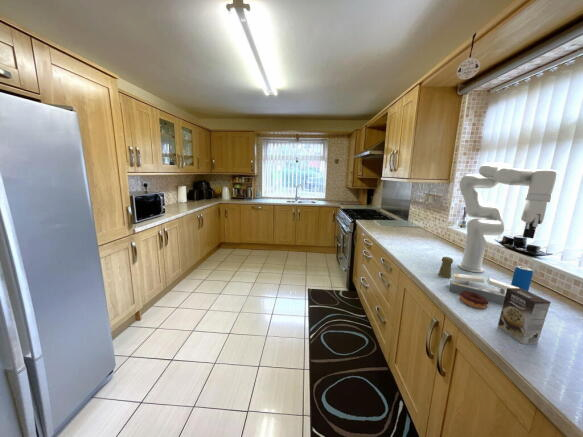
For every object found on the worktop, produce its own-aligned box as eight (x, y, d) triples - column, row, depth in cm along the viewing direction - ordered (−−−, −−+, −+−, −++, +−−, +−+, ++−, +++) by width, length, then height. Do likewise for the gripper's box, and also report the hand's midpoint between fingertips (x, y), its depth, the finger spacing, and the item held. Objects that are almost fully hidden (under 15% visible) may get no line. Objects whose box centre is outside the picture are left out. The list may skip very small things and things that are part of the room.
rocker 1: (454, 277, 115) (454, 273, 115) (482, 279, 109) (482, 276, 109) (454, 280, 112) (454, 276, 112) (483, 283, 106) (483, 279, 106)
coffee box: (496, 326, 86) (505, 287, 82) (511, 326, 86) (521, 287, 83) (522, 344, 77) (534, 301, 73) (539, 344, 77) (551, 301, 74)
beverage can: (524, 288, 117) (529, 266, 115) (530, 294, 111) (536, 271, 109) (508, 285, 120) (513, 264, 117) (513, 291, 114) (519, 268, 111)
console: (449, 284, 118) (451, 274, 117) (520, 302, 104) (523, 290, 103) (450, 291, 111) (452, 280, 110) (525, 310, 97) (529, 298, 96)
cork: (452, 278, 125) (456, 260, 123) (440, 277, 127) (444, 258, 124) (447, 274, 131) (451, 256, 129) (436, 272, 132) (439, 255, 130)
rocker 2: (487, 280, 108) (488, 277, 108) (517, 291, 103) (519, 287, 102) (488, 284, 105) (490, 280, 104) (519, 294, 100) (521, 291, 99)
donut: (491, 312, 95) (493, 303, 94) (464, 306, 98) (465, 298, 98) (481, 300, 105) (483, 292, 104) (456, 295, 108) (457, 287, 107)
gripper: (521, 196, 109) (512, 232, 112) (532, 198, 96) (521, 239, 100) (543, 197, 105) (533, 235, 109) (557, 200, 93) (545, 243, 96)
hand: (527, 237), depth 104 cm, fingers closed
